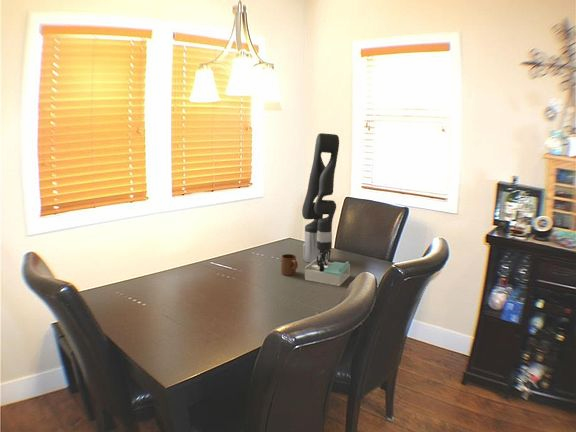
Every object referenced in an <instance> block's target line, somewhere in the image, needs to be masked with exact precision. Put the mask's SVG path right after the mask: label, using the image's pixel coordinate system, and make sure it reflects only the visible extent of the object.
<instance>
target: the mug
mask: <svg viewBox="0 0 576 432" xmlns="http://www.w3.org/2000/svg"><path fill="white" fill-rule="evenodd" d="M280 260H281V261H280V263H281V264H280V265H281V266H280V267H281V269H280V270H281V271H280V273H281V275H283V276H286V277H287V276H288V277H290V276H291V277H292V276H294V275H296V273H297V269H298V266H299V265H298V262H297V257H296V255H294V254H291V253H288V254H287V253H286V254H282V255H281V259H280Z"/></svg>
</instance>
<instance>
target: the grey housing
mask: <svg viewBox="0 0 576 432" xmlns="http://www.w3.org/2000/svg"><path fill="white" fill-rule="evenodd" d="M332 263H333V262H330V261H329V262H328V264H327V266H330V265H331V264H332ZM350 268H351V265H350V266H349V267H348V268H347V269H346V270H345V271H344V272H343V273H342V274H341V275H335V274H329V273H324V272H320V266H318V264H317V259H315V260H314V261H313V262H311V263H310V262H309V264H307V265H306V266H305V267H304V280H305V281H310V282H316V283H321V284H327V285H331V286H336V287H340V286H341V285H342V284H343V283H344V282H345V281H346V280H347V279H348V278H349V277H350V273H351V272H350V271H351V269H350Z"/></svg>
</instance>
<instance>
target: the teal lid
mask: <svg viewBox="0 0 576 432" xmlns="http://www.w3.org/2000/svg"><path fill="white" fill-rule="evenodd" d="M331 263H332V264H331V265H330V266H329V267H328V268H326V269H325V270H324V271H323V272H324V273H329V274H335V275H341V274H342V273H343V272H344V271H345V270H346V269H347V268H348V267H349V266H350V267H351V264H350V261H345V262H338V261H333V262H331Z"/></svg>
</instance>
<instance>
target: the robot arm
mask: <svg viewBox="0 0 576 432" xmlns="http://www.w3.org/2000/svg"><path fill="white" fill-rule="evenodd" d="M339 149H340V137H339V135H338V134H336V133H335V134H334V133H325V132H324V133H323V132H322V133H319V134H317V136H316V140H315V146H314V153H313V154H314V155H313V159H312V160H313V161H312V165H311V169H310V174H309V180H308V186H307V190H306V194H305V198H304V202H303V204H302V210H301V211H302V212H301V213H302V217H303V219H304V220H312V221H311V222H309V223H307V224H306V225H305V226H304V243H303V244H302V245H303V246H302V261H305V262H307V263H309V264H310V263H311V262H313V261H314V260H315V259H317V264H318V266H320V272H323V271H324V265H326V266H327V264H328V262H329V263H330V259H331V254H332V253H331V252H332V248H333V246H332V245H333V233H332V232H333V231H332V230H333V220H334V216H335V213H336V210H337V204H336V202H335V200H334V199H333V200H330V199H324V198H325V197H327V196H332V195H333V193H334V185H335V184H334V183H335V172H336V167H337V161H338V155H339ZM322 153H325V154H326V153H327V154H330V159H329V161H328V163H327V164H326V166H325V164H324V161H323V158H322ZM315 200H316V201H315ZM324 215H328V216H326V217H324Z"/></svg>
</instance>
